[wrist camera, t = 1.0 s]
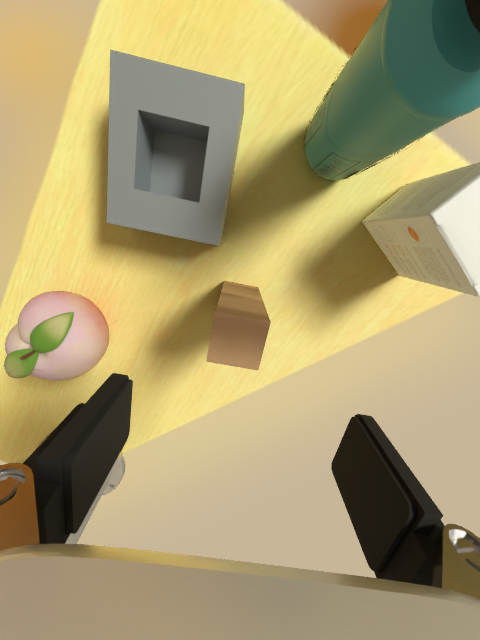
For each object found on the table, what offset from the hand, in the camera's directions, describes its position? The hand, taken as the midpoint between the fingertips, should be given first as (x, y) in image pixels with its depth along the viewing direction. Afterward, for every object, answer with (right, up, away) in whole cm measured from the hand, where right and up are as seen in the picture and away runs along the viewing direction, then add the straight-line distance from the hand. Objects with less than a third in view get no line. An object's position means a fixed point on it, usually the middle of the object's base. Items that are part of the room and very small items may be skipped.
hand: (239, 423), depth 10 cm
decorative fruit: (-18, +4, +20) cm, 27 cm away
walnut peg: (0, +7, +19) cm, 20 cm away
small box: (+18, +14, +17) cm, 28 cm away
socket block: (-6, +19, +15) cm, 25 cm away
